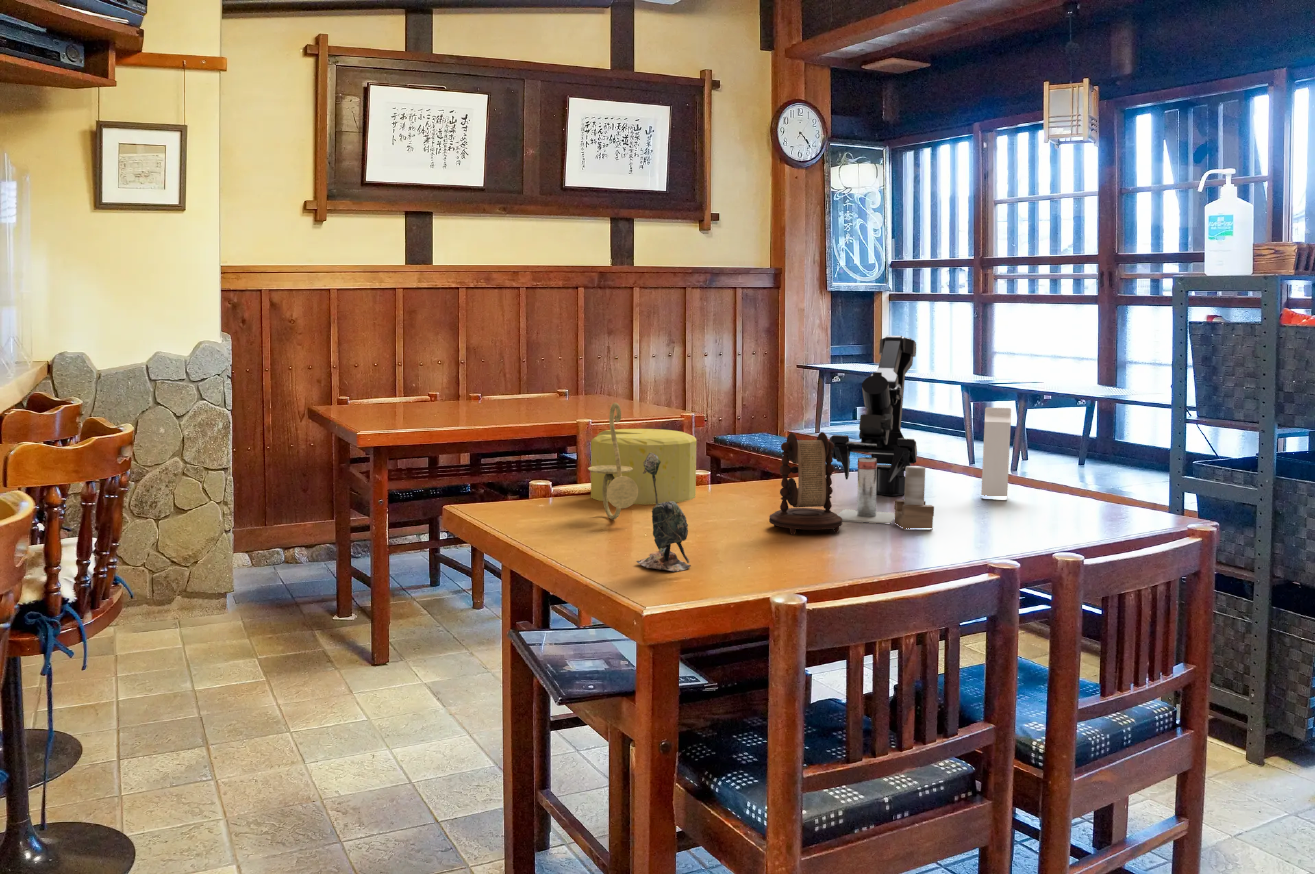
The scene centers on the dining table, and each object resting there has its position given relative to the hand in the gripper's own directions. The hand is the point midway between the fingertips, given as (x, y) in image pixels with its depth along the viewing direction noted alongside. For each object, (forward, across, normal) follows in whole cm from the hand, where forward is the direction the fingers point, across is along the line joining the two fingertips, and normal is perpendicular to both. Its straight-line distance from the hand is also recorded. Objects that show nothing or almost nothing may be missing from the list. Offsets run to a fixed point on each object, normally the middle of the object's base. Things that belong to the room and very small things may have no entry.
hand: (867, 479), depth 238 cm
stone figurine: (+49, -24, -38) cm, 67 cm away
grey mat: (+6, 0, +6) cm, 8 cm away
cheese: (0, -55, +12) cm, 57 cm away
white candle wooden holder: (+10, +11, +1) cm, 15 cm away
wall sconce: (+23, -50, -11) cm, 56 cm away
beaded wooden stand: (+19, -9, -7) cm, 22 cm away
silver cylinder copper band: (+5, 0, +6) cm, 8 cm away
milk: (-21, +24, +34) cm, 46 cm away
